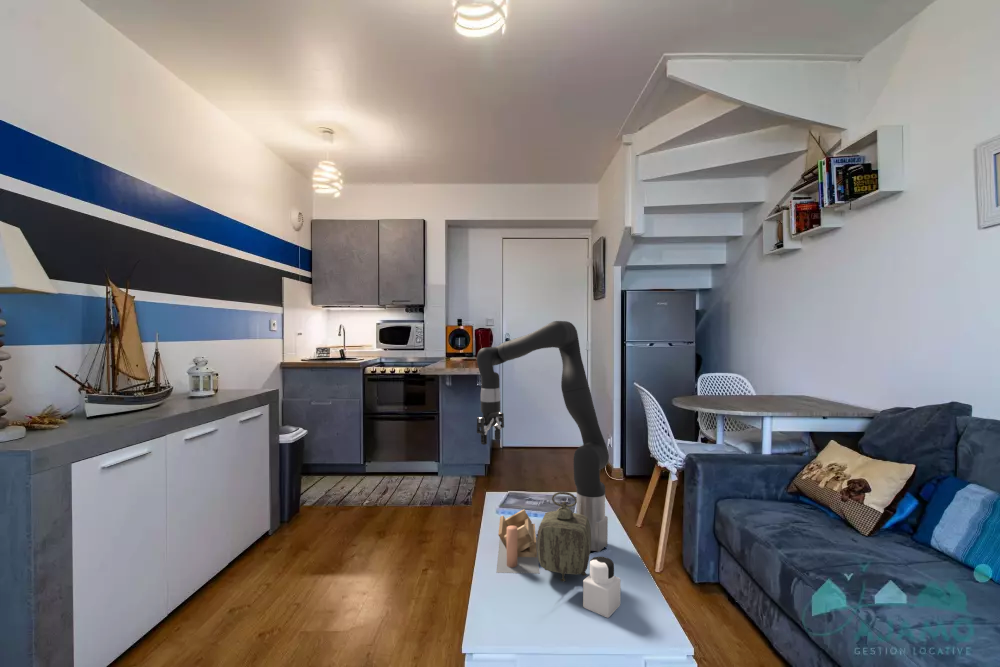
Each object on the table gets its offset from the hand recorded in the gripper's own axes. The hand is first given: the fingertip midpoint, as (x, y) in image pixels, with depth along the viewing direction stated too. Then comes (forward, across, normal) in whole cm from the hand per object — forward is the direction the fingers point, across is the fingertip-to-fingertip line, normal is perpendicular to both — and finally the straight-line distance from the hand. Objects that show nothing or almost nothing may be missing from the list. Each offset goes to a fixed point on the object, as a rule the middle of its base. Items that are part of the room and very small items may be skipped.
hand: (490, 442), depth 177 cm
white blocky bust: (+29, -30, -58) cm, 71 cm away
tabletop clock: (+28, -25, -44) cm, 58 cm away
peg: (+27, -28, -29) cm, 49 cm away
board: (+28, -22, -26) cm, 44 cm away
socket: (+27, -18, -24) cm, 40 cm away
